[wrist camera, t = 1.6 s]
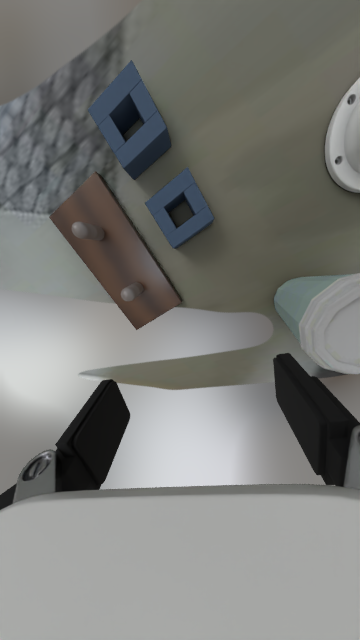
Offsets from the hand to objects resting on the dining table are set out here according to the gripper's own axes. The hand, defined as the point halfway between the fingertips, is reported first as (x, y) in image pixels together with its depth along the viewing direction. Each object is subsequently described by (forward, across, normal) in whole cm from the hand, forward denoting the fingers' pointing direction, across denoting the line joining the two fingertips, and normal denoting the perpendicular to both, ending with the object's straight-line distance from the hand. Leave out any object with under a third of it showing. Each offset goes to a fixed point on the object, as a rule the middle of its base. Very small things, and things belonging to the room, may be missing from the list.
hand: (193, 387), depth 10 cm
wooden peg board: (+22, +11, -8) cm, 26 cm away
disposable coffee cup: (+23, -16, +3) cm, 28 cm away
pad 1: (+22, +3, -23) cm, 32 cm away
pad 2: (+22, 0, -12) cm, 26 cm away
